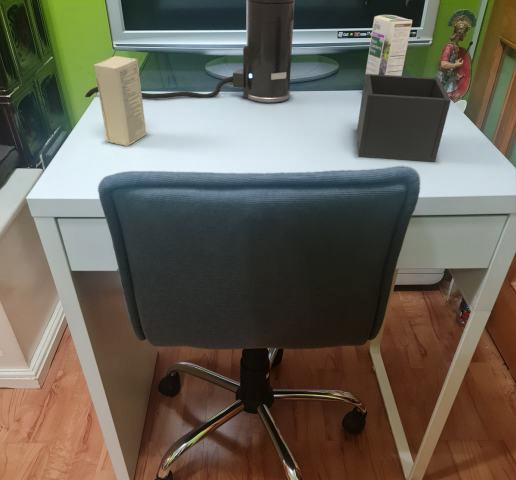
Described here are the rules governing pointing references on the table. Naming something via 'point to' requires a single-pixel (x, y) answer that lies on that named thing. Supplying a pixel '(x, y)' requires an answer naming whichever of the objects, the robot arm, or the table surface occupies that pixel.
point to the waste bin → (401, 117)
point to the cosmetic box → (121, 99)
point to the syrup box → (388, 45)
